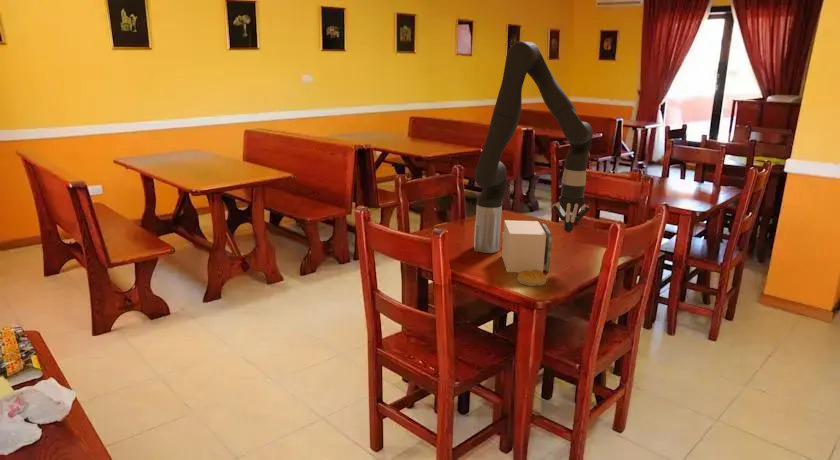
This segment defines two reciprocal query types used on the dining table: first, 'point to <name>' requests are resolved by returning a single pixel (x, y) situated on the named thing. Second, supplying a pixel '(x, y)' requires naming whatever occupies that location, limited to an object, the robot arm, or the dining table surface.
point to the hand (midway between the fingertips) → (567, 232)
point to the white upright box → (523, 246)
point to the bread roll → (531, 278)
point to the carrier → (547, 248)
